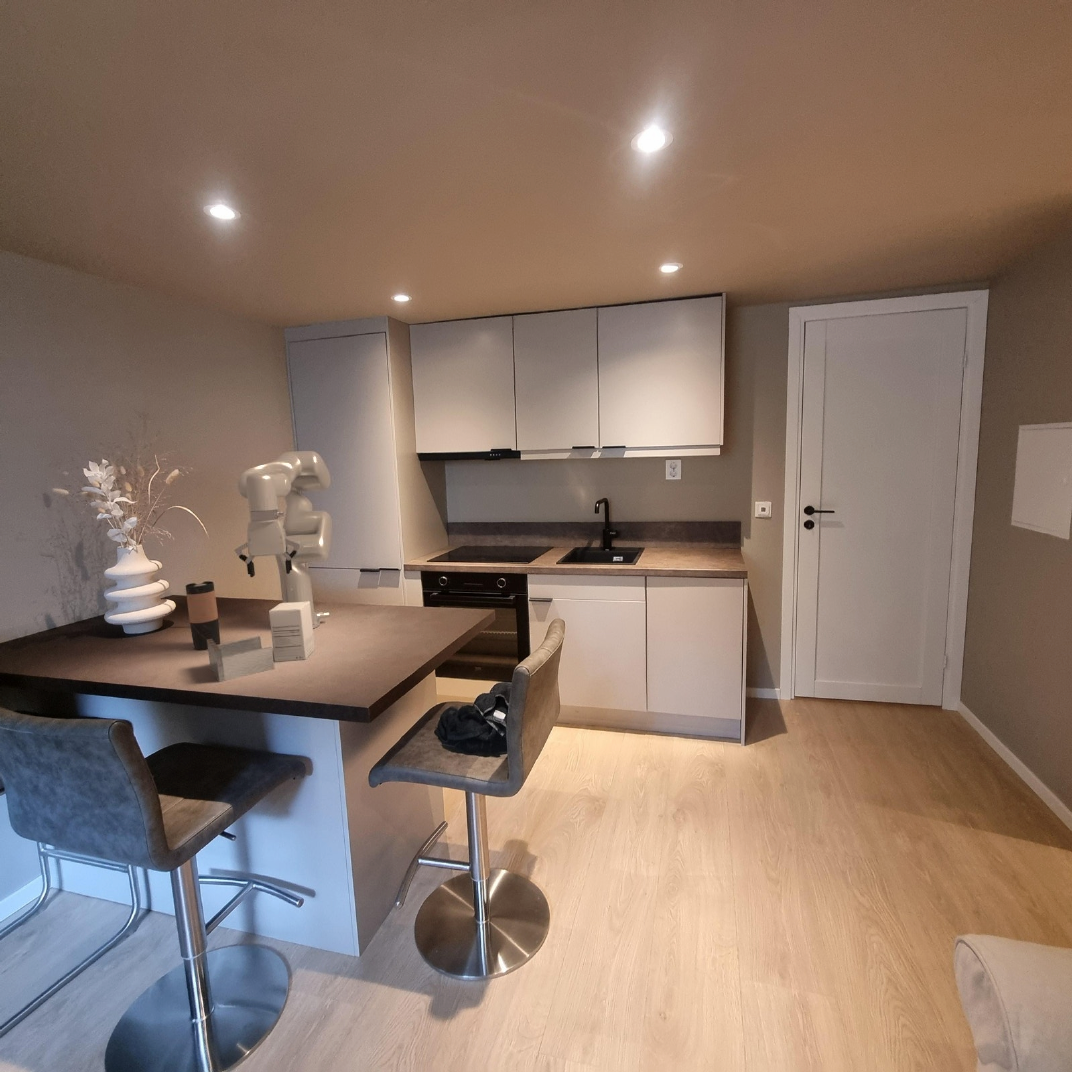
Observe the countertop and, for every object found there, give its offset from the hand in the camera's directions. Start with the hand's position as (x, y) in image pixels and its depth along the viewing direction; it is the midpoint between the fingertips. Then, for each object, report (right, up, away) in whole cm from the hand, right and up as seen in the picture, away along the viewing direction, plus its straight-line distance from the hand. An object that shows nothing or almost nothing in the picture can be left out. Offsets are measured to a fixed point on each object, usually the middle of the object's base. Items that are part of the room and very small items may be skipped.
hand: (270, 574), depth 166 cm
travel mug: (-25, -23, +11) cm, 36 cm away
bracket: (-3, -25, -10) cm, 27 cm away
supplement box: (+8, -24, -2) cm, 25 cm away
